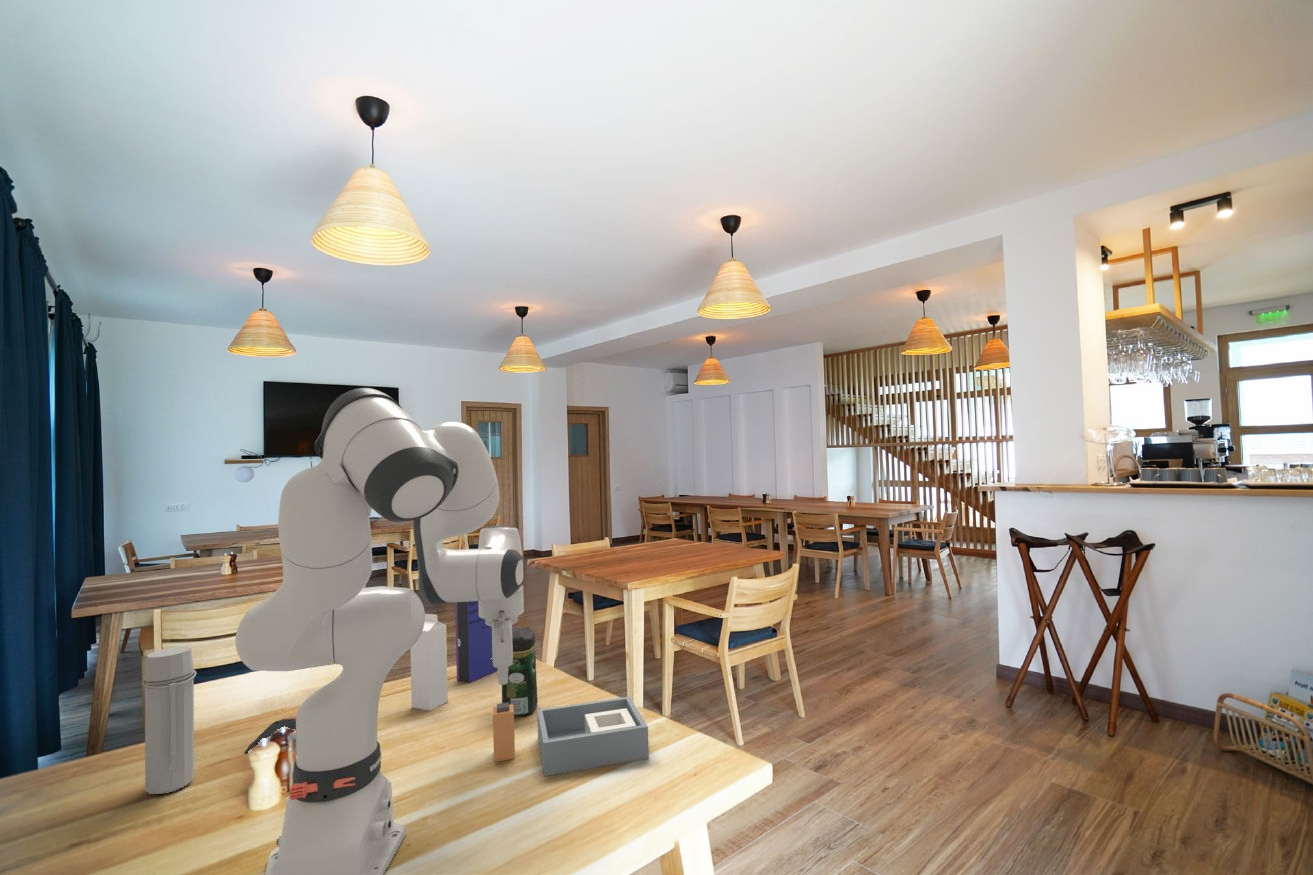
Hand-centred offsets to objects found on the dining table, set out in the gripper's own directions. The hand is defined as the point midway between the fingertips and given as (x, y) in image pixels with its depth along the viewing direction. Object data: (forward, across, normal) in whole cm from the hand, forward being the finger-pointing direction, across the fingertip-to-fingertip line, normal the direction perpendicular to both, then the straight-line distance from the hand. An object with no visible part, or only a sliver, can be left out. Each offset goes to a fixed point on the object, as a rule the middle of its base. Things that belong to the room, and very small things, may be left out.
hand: (503, 674), depth 121 cm
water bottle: (+16, +7, +60) cm, 63 cm away
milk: (+17, +32, +17) cm, 40 cm away
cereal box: (+17, +52, +4) cm, 55 cm away
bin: (+16, -3, -17) cm, 23 cm away
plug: (+16, 0, 0) cm, 16 cm away
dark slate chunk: (+17, +22, +41) cm, 49 cm away
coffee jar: (+16, +22, -4) cm, 27 cm away
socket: (+15, -3, -21) cm, 26 cm away
